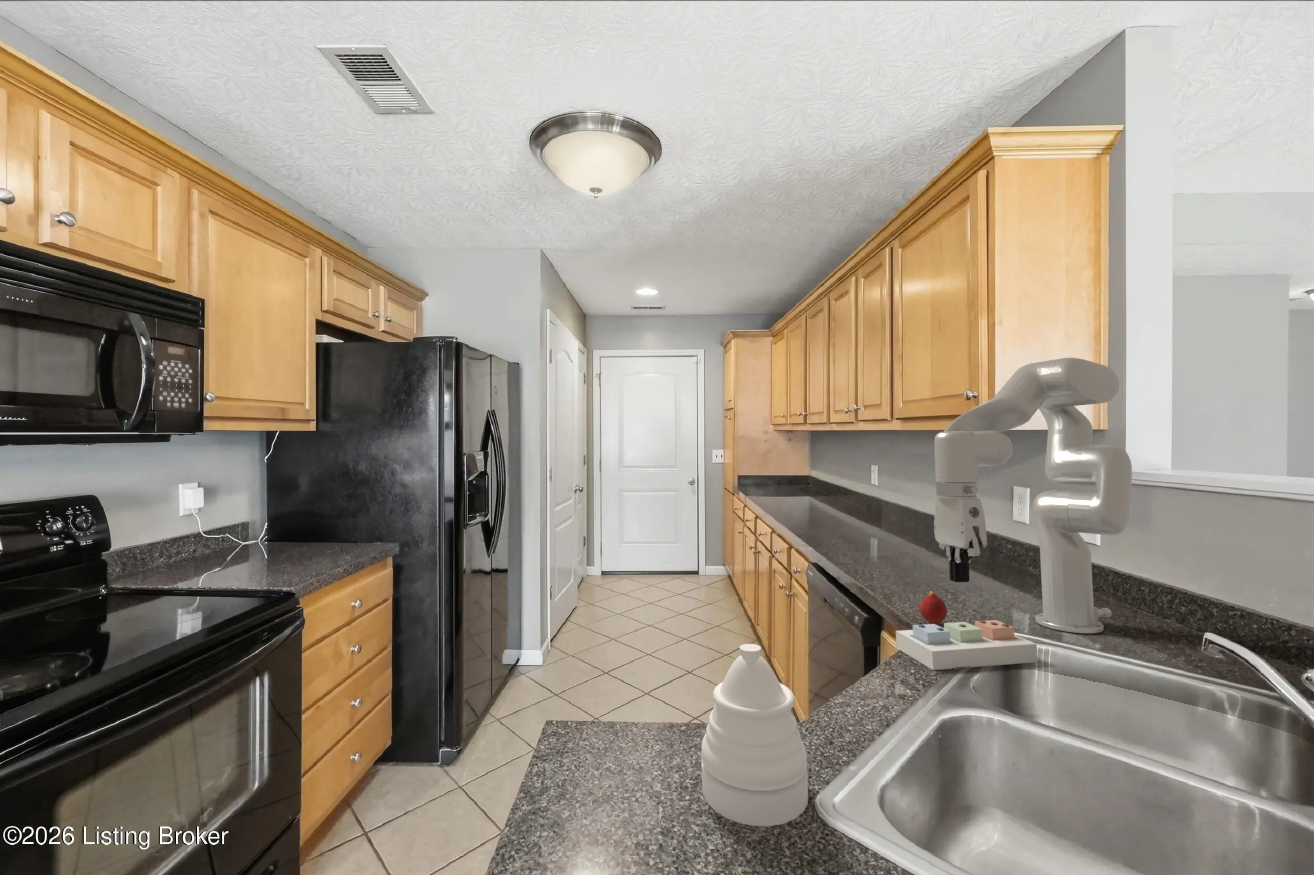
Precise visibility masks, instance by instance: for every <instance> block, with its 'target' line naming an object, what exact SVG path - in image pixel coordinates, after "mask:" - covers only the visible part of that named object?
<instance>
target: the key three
mask: <svg viewBox="0 0 1314 875" xmlns="http://www.w3.org/2000/svg"><path fill="white" fill-rule="evenodd" d="M974 626H976V627H978V628H980V629H982V636H983V637H985V638H987V639H990V640H992V641H995V640H1010V639H1014V635H1015V627H1014V626H1012V625H1009V624H1007V623H1004V622H1003V621H999V620H997V619H992V620H988V619H987V620H976V621H974Z"/></svg>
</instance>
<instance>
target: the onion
mask: <svg viewBox="0 0 1314 875" xmlns="http://www.w3.org/2000/svg"><path fill="white" fill-rule="evenodd" d="M919 603H920V604H919V606H918V607H919V612H920V615H921V617H923V618H924V620H926V622H928V624H936V625H939V624H941V623H942V622H944V620H946V618H947V615H948V609H947V605H946V603H945V602H944V601H943V599H942V598H940V596H938V595H937V594H936V593H934V591H931V590H930V591H928V595H926V596H925V597H924V598H922V600H921V601H920V602H919Z"/></svg>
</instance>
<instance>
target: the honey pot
mask: <svg viewBox="0 0 1314 875" xmlns="http://www.w3.org/2000/svg"><path fill="white" fill-rule="evenodd" d="M739 653H740V655H739V656H738V657H737V658H736V659H735V660H734V661H733V663H732V664H731V666H730V668H729V669H728V670H727V672H726V675H725V677H724V679H723V681H722V682H720V683H719V684H717V685H716V686H715V687H714V689H713V692H712V698H713V699H712V700H713V702H714V705H713V708H712V710H711V711H710V714H709V716H708V724H707V725H706V729H705V734H704V736H703V738H702V740H701V754H700V756H701V787H702V788H701V789H702V796H703V797H704V799H705V800H704V801H705V802H706V803H707V804H708V805H709V806H710V807H711V808H712V810H713V811H714V812H716V813H718V814H720V815H721V816H722V817H723V818H726V819H728V820H731V821H733V822H736V823H738V824H742V825H748V826H753V827H772V826H779V825H784V824H786V823H788V822H791V821H793V820H796V819H797V818H798V817H799V816H801V815H802V813H804V812H805V809H806V808H807V806H808V803H809V782H808V781H809V780H808V777H809V776H808V761H807V760H808V759H807V757H808V752H807V749H806V746H805V744H804V742H803V740H802V736H801V733H800V730H799V728H798V722H797V720H796V717H795V716H794V715H793V713H792V709H793V707H794V706H795V703H796V697H795V695H794V693H793V691H792V690H791V689H790V688H789V687H788V686H786V685H784V684H783V683H781V682H780V681H779V680H778V677H777V676H776V674H775V672H774V670H773V668H771V665H770V664H769V663H768V662H767V660H766V659H765V658H763V656H762V655H761V653H762V646H760V645H759V644H755V643H744V644H741V645H740V646H739Z"/></svg>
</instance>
